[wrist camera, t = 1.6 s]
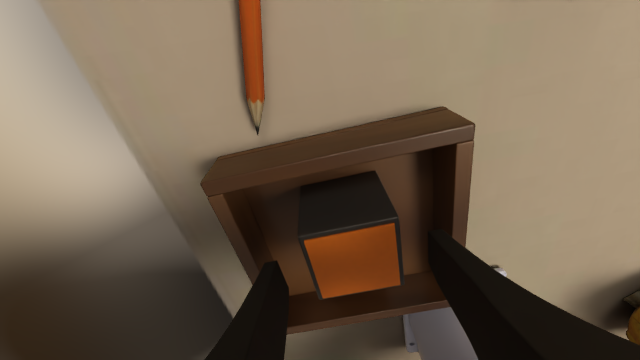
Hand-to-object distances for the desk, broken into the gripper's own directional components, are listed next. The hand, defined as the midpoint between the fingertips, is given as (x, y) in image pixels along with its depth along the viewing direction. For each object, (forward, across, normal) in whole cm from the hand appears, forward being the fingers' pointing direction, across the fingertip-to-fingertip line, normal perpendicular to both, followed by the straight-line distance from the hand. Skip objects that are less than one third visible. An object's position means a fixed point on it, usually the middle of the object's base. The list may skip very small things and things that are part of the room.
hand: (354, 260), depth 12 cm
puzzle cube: (+4, 0, 0) cm, 4 cm away
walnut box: (+5, 0, +2) cm, 5 cm away
